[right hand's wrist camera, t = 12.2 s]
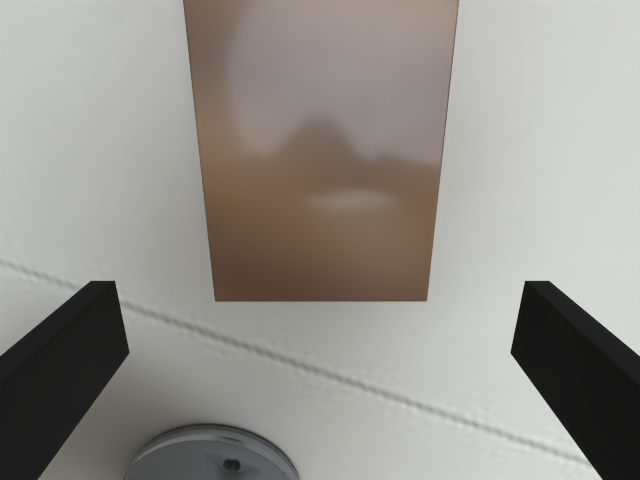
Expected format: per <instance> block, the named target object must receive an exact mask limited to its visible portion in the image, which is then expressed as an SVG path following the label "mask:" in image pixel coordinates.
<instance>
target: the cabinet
mask: <svg viewBox="0 0 640 480" xmlns="http://www.w3.org/2000/svg"><path fill="white" fill-rule="evenodd" d="M183 3H184V13H185V22H186V32H187V41H188V51H189V60H190V69H191V79H192V88H193V98H194V107H195V117H196V126H197V135H198V145H199V154H200V164H201V173H202V183H203V192H204V201H205V211H206V220H207V230H208V239H209V249H210V258H211V267H212V277H213V286H214V296H215V301H427V294H428V285H429V276H430V267H431V257H432V248H433V239H434V229H435V220H436V211H437V201H438V192H439V183H440V173H441V164H442V155H443V145H444V136H445V127H446V118H447V108H448V99H449V90H450V80H451V71H452V62H453V52H454V43H455V34H456V24H457V15H458V6H459V0H183Z"/></svg>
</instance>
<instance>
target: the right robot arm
mask: <svg viewBox="0 0 640 480" xmlns="http://www.w3.org/2000/svg"><path fill="white" fill-rule="evenodd" d="M128 354H129V348H128V343H127V338H126V333H125V328H124V323H123V318H122V314H121V309H120V304H119V299H118V294H117V289H116V284H115V281H90V282H89V283H88V284H87V285H85V286H84V287H83V288H82V289H81V290H79V291H78V292H77V293H76V294H75V295H73V296H72V297H71V298H70V299H69V300H67V301H66V302H65V303H64V304H63V305H61V306H60V307H59V308H58V309H57V310H55V311H54V312H53V313H52V314H51V315H49V316H48V317H47V318H46V319H45V320H43V321H42V322H41V323H40V324H39V325H37V326H36V327H35V328H34V329H33V330H31V331H30V332H29V333H28V334H27V335H25V336H24V337H23V338H22V339H20V340H19V341H18V342H17V343H16V344H14V345H13V346H12V347H11V348H10V349H8V350H7V351H6V352H5V353H4V354H2V355H1V356H0V480H38V478H39V477H40V475H41V474H42V473H43V471H44V470H45V469H46V467H47V466H48V464H49V463H50V462H51V460H52V459H53V458H54V456H55V455H56V453H57V452H58V451H59V449H60V448H61V447H62V445H63V444H64V442H65V441H66V440H67V438H68V437H69V436H70V434H71V433H72V431H73V430H74V429H75V427H76V426H77V425H78V423H79V422H80V420H81V419H82V418H83V416H84V415H85V414H86V412H87V411H88V409H89V408H90V407H91V405H92V404H93V402H94V401H95V400H96V398H97V397H98V396H99V394H100V393H101V391H102V390H103V389H104V387H105V386H106V385H107V383H108V382H109V380H110V379H111V378H112V376H113V375H114V374H115V372H116V371H117V369H118V368H119V367H120V365H121V364H122V363H123V361H124V360H125V358H126V357H127V356H128ZM511 354H512V356H513V357H514V358H515V360H516V361H517V363H518V364H519V365H520V367H521V368H522V369H523V371H524V372H525V374H526V375H527V376H528V378H529V379H530V380H531V382H532V383H533V385H534V386H535V387H536V389H537V390H538V391H539V393H540V394H541V396H542V397H543V398H544V400H545V401H546V402H547V404H548V405H549V407H550V408H551V409H552V411H553V412H554V414H555V415H556V416H557V418H558V419H559V420H560V422H561V423H562V425H563V426H564V427H565V429H566V430H567V431H568V433H569V434H570V436H571V437H572V438H573V440H574V441H575V442H576V444H577V445H578V447H579V448H580V449H581V451H582V452H583V453H584V455H585V456H586V458H587V459H588V460H589V462H590V463H591V464H592V466H593V467H594V469H595V470H596V471H597V473H598V474H599V475H600V477H601V478H602V480H640V356H639V355H638V354H636V353H635V352H634V351H633V350H632V349H630V348H629V347H628V346H627V345H626V344H624V343H623V342H622V341H621V340H620V339H618V338H617V337H616V336H615V335H613V334H612V333H611V332H610V331H609V330H607V329H606V328H605V327H604V326H603V325H601V324H600V323H599V322H598V321H597V320H595V319H594V318H593V317H592V316H591V315H589V314H588V313H587V312H586V311H585V310H583V309H582V308H581V307H580V306H579V305H577V304H576V303H575V302H574V301H573V300H571V299H570V298H569V297H568V296H567V295H565V294H564V293H563V292H562V291H561V290H559V289H558V288H557V287H556V286H555V285H553V284H552V283H551V282H550V281H525V284H524V289H523V294H522V299H521V304H520V309H519V314H518V318H517V323H516V328H515V333H514V338H513V343H512V348H511ZM123 480H299V478H298V475H297V473H296V471H295V469H294V467H293V466H292V464H291V463H290V461H289V460H288V459H287V458H286V457H285V455H284V454H283V453H281V452H280V451H279V450H278V449H277V448H276V447H274V446H273V445H272V444H270V443H268V442H267V441H265V440H263V439H261V438H260V437H258V436H255V435H253V434H251V433H248V432H245V431H242V430H238V429H235V428H230V427H224V426H215V425H198V426H189V427H183V428H179V429H175V430H172V431H169V432H167V433H164V434H162V435H160V436H158V437H156V438H155V439H153V440H151V441H150V442H149V443H147V444H146V445H145V446H144V447H143V448H142V449H141V450H140V451H139V452H138V453H137V455H136V456H135V458H134V460H133V461H132V463H131V465H130V467H129V469H128V471H127V473H126V475H125V477H124V479H123Z"/></svg>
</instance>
